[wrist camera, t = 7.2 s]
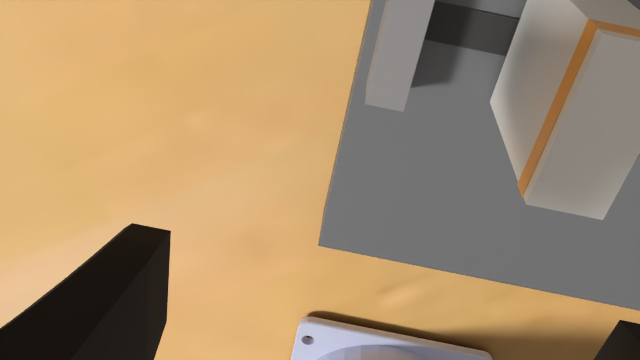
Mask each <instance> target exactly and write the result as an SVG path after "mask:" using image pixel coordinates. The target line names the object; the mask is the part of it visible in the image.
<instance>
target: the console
mask: <svg viewBox="0 0 640 360" xmlns="http://www.w3.org/2000/svg"><path fill="white" fill-rule="evenodd" d="M526 1H527V0H371V3H370V7H369V11H368V16H367V20H366V25H365V29H364V34H363V38H362V43H361V47H360V52H359V56H358V60H357V65H356V69H355V74H354V78H353V83H352V87H351V92H350V96H349V100H348V105H347V109H346V114H345V118H344V123H343V127H342V132H341V136H340V141H339V145H338V149H337V154H336V158H335V163H334V167H333V172H332V176H331V181H330V185H329V190H328V194H327V198H326V203H325V207H324V212H323V218H322V225H321V231H320V238H319V244H318V246H322V247H327V248H332V249H337V250H342V251H347V252H352V253H357V254H362V255H367V256H372V257H377V258H382V259H387V260H392V261H397V262H402V263H407V264H412V265H417V266H422V267H427V268H431V269H436V270H441V271H446V272H451V273H456V274H461V275H466V276H471V277H476V278H481V279H486V280H491V281H496V282H501V283H506V284H511V285H516V286H521V287H526V288H531V289H536V290H541V291H546V292H550V293H555V294H560V295H565V296H570V297H575V298H580V299H585V300H590V301H595V302H600V303H605V304H610V305H615V306H620V307H625V308H630V309H635V310H640V153H639V155H638V157H637V159H636V161H635V162H634V164H633V166H632V168H631V170H630V172H629V173H628V175H627V177H626V179H625V181H624V183H623V184H622V186H621V188H620V190H619V192H618V194H617V195H616V197H615V199H614V201H613V203H612V205H611V206H610V208H609V210H608V212H607V214H606V216H605V217H604V219H603V220H600V219H595V218H590V217H585V216H580V215H575V214H570V213H565V212H561V211H556V210H551V209H546V208H541V207H536V206H531V205H526V203H525V200H524V197H522V196H521V193H520V190H519V187H518V180H517V178H516V175H515V172H514V169H513V166H512V163H511V161H510V158H509V155H508V152H507V149H506V147H505V144H504V141H503V138H502V135H501V132H500V130H499V127H498V124H497V121H496V118H495V116H494V113H493V110H492V107H491V104H490V100H491V97H492V94H493V91H494V89H495V86H496V83H497V81H498V78H499V75H500V72H501V70H502V67H503V64H504V61H505V59H506V56H507V53H508V51H509V48H510V45H511V42H512V40H513V37H514V34H515V31H516V29H517V26H518V23H519V21H520V18H521V15H522V12H523V10H524V7H525V4H526ZM627 1H629V2H630V3H631V4H632V5H634V6H635V7H636V8H638V9H639V10H640V0H627Z"/></svg>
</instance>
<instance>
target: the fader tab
mask: <svg viewBox="0 0 640 360" xmlns="http://www.w3.org/2000/svg"><path fill="white" fill-rule="evenodd" d="M490 104H491V107H492V110H493V113H494V116H495V118H496V121H497V124H498V127H499V130H500V132H501V135H502V138H503V141H504V144H505V147H506V149H507V152H508V155H509V158H510V161H511V163H512V166H513V169H514V172H515V175H516V178H517V180H518V187H519V190H520V193H521V196H522V197H524V200H525V203H526V205H531V206H536V207H541V208H546V209H551V210H556V211H561V212H565V213H570V214H575V215H580V216H585V217H590V218H595V219H600V220H603V219H604V217H605V216H606V214H607V212H608V210H609V208H610V206H611V205H612V203H613V201H614V199H615V197H616V195H617V194H618V192H619V190H620V188H621V186H622V184H623V183H624V181H625V179H626V177H627V175H628V173H629V172H630V170H631V168H632V166H633V164H634V162H635V161H636V159H637V157H638V155H639V153H640V10H639V9H638V8H636V7H635V6H634V5H632V4H631V3H630V2H629V1H627V0H527V1H526V4H525V7H524V10H523V12H522V15H521V18H520V21H519V23H518V26H517V29H516V31H515V34H514V37H513V40H512V42H511V45H510V48H509V51H508V53H507V56H506V59H505V61H504V64H503V67H502V70H501V72H500V75H499V78H498V81H497V83H496V86H495V89H494V91H493V94H492V97H491V100H490Z"/></svg>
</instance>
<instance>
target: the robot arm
mask: <svg viewBox="0 0 640 360" xmlns="http://www.w3.org/2000/svg"><path fill="white" fill-rule="evenodd" d="M170 234H171V231H168V230H163V229H158V228H153V227H148V226H143V225H138V224H133V223H132V224H130V225H129V226H127V227H125V228H124V229H123V230H122V231H121V232H120V233H118V234H117V235H116V236H115V237H114V238H113V239H111V240H110V241H109V242H108V243H107V244H106V245H104V246H103V247H102V248H101V249H100V250H99V251H98V252H96V253H95V254H94V255H93V256H92V257H90V258H89V259H88V260H87V261H86V262H85V263H83V264H82V265H81V266H80V267H78V268H77V269H76V270H75V271H74V272H72V273H71V274H70V275H69V276H68V277H66V278H65V279H64V280H63V281H61V282H60V283H59V284H58V285H56V286H55V287H54V288H53V289H51V290H50V291H49V292H47V293H46V294H45V295H44V296H42V297H41V298H40V299H39V300H37V301H36V302H35V303H33V304H32V305H31V306H30V307H28V308H27V309H26V310H25V311H23V312H22V313H21V314H19V315H18V316H17V317H15V318H14V319H13V320H11V321H10V322H9V323H7V324H6V325H4V326H3V327H2V328H0V360H154V357H155V354H156V351H157V348H158V345H159V342H160V339H161V336H162V333H163V330H164V327H165V324H166V321H167V300H168V278H169V256H170ZM305 336H311V338H308V337H305ZM291 360H492V357H491V355H490V354H489V353H488V352H485V351H482V350H477V349H472V348H467V347H462V346H457V345H452V344H447V343H442V342H437V341H432V340H427V339H422V338H417V337H412V336H407V335H402V334H397V333H392V332H387V331H382V330H377V329H372V328H367V327H362V326H357V325H352V324H347V323H342V322H337V321H332V320H327V319H322V318H317V317H309V316H308V317H304V318H302V319H301V320H300V322H299V324H298V329H297V333H296V337H295V342H294V346H293V351H292V355H291ZM594 360H640V324H637V323H632V322H627V321H622V320H620V321H619V322H618V324H617V325H616V327H615V328H614V330H613V331H612V333H611V334H610V336H609V337H608V339H607V340H606V342H605V343H604V345H603V346H602V348H601V349H600V351H599V352H598V354H597V355H596V357H595V358H594Z"/></svg>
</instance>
